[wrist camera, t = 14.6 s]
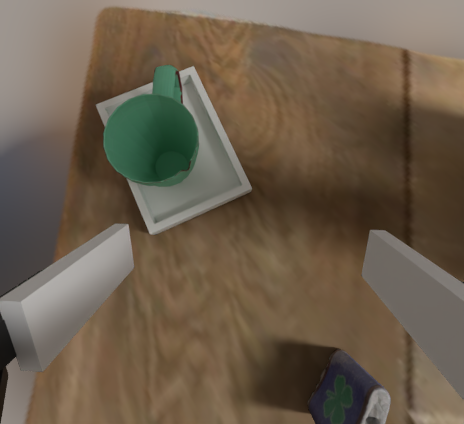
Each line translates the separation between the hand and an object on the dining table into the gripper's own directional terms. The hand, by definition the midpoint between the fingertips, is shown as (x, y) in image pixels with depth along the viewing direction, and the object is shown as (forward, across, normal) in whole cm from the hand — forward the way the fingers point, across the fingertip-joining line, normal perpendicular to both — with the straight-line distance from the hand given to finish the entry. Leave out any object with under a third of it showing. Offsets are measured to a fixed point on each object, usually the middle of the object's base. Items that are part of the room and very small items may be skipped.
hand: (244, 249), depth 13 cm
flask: (+13, +12, -26) cm, 31 cm away
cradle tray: (+24, -11, +4) cm, 26 cm away
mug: (+23, -11, +4) cm, 26 cm away
